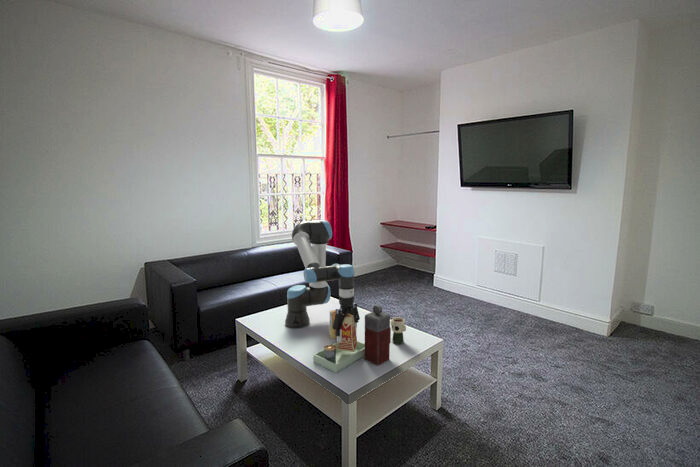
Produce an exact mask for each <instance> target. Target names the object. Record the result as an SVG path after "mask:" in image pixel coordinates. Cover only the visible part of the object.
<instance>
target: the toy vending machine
mask: <svg viewBox="0 0 700 467" xmlns="http://www.w3.org/2000/svg"><path fill="white" fill-rule="evenodd" d="M391 332H392V328H391V315H390V314H388V313H385V312H383V308H382V306H381V304H376V305H374V306H372V311H371V312H369V313H366V314H365V315H364V344H365V356H364V360H365V361H367V362H369V363H372V364H373V365H375V366H380V365H382V364H384V363H386V362H388V361H389V360H390V353H391V352H390V348H391V347H390V344H391V343H392V342H391V341H392V340H391V338H392V337H391V336H392V334H391Z"/></svg>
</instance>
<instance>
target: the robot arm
mask: <svg viewBox="0 0 700 467" xmlns="http://www.w3.org/2000/svg"><path fill="white" fill-rule="evenodd" d="M332 237H333V230H332V226H331V224H330V222H329V221H328V220H322V219H318V220H303V221H301V222H298V223H297V224H296V225H294V228H293V229H292V232H291V238H292V239H291V240H292V243H293V244H294V245H295V246H296V248H297V250H298V253H299V255H300V259H301V261H302V263H303V265H304V267H305V268H304V270H303V280H304V282H305V283H308V286H306V285H305V284H298V285H297V284H296V285H293V286H291V287H289V288H288V289H287V291H286V292H287V294H286V298H287V302H286V303H287V313H286V317H285V320H284V322H285V323H284V324H285V326H286V327H287V328H291V329H292V328H293V329H300V328H304V327H307V326H308V325H310V321H311V320H310V317H309V314H308V309H307V308H308V307H310V306H311V307H312V306H318V305H319V306H321V305H325V304H328V303H329V302H330V299H331V294H332V293H331V292H332V291H331V287H330V286H329V284H328V282H329V281H338V295H339V296H338V303H339V308H336V309H335V310H336V315H335V320H334V324H333V329H335V330H336V336H337V338H336V342H340V343H341V342H342V330H341V327H342V324H343V321H344V318H345V317H346V315H347V314H351V315H353V317H354V322H355V329H356V330H357V328H358V326H357V325H358V323H359V322H360V319H361V317H360V314H359V309H358V303H357V302H355V267H354V265H352V264H345V263H344V264H339V263H333V264H331V265H327V264H326V263H327V262H326V261H327V257H326V255H327V245H328V244H329V241H330V240H331V239H332ZM342 314H344V315H342Z"/></svg>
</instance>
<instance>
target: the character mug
mask: <svg viewBox="0 0 700 467" xmlns="http://www.w3.org/2000/svg"><path fill="white" fill-rule="evenodd" d="M390 328H391V332H393V333H392V337H391V338H392V340H391V341H392V342H391V343H394V344H396V345H397V344H402V343H404V342H405V341H404V332H407V326H406V320H405V318H403V317H399V316H397V317H395V316H394V317H393V318H392V319H390Z"/></svg>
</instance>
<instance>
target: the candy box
mask: <svg viewBox="0 0 700 467" xmlns="http://www.w3.org/2000/svg"><path fill="white" fill-rule="evenodd" d="M335 315H336V309H335V310H329V337H330V338H331V339H332V340H333V339H337V336H336V330H335V329H333V324H334V320H335ZM342 315H343V314H342Z"/></svg>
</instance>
